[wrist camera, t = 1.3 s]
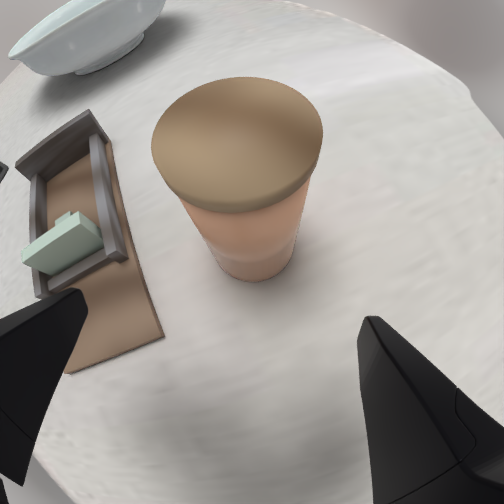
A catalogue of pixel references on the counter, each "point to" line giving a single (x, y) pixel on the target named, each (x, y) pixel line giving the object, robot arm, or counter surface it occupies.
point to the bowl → (85, 35)
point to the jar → (241, 168)
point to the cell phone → (3, 171)
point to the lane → (113, 232)
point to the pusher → (64, 244)
